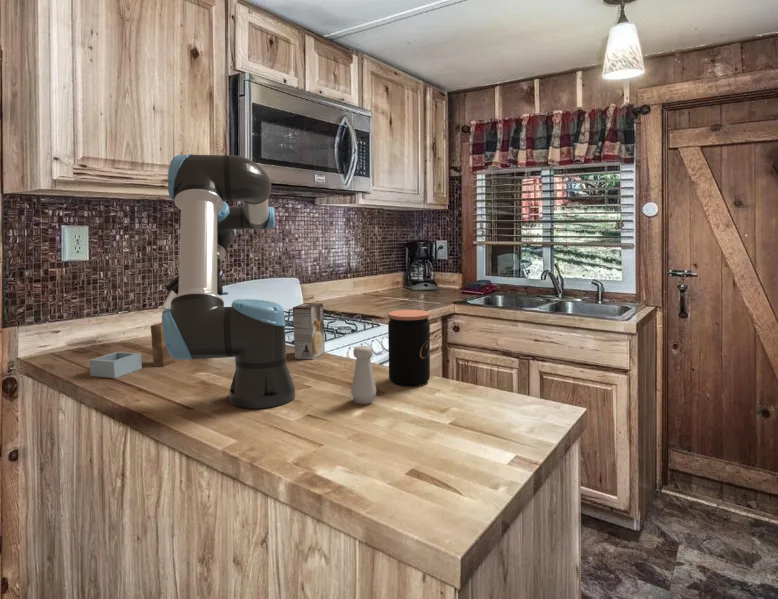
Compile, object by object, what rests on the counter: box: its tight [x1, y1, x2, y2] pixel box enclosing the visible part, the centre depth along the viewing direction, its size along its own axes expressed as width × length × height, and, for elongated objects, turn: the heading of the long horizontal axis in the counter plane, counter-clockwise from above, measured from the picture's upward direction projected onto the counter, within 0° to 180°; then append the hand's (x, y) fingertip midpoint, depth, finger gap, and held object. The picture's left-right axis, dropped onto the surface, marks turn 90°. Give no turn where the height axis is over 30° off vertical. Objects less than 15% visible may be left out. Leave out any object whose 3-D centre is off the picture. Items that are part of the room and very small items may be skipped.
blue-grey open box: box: [88, 351, 143, 379], centre depth 149 cm, size 8×10×4 cm
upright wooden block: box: [150, 322, 176, 367], centre depth 157 cm, size 4×5×12 cm
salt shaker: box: [350, 345, 377, 405], centre depth 121 cm, size 6×6×13 cm
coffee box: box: [292, 302, 326, 360], centre depth 164 cm, size 9×6×16 cm
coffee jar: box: [387, 309, 431, 388], centre depth 136 cm, size 11×11×18 cm
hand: (183, 310), depth 165 cm, fingers open, 13 cm apart
